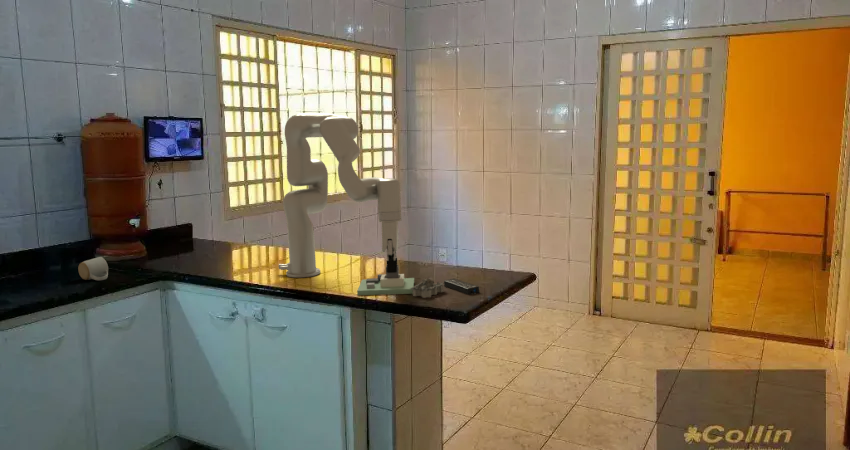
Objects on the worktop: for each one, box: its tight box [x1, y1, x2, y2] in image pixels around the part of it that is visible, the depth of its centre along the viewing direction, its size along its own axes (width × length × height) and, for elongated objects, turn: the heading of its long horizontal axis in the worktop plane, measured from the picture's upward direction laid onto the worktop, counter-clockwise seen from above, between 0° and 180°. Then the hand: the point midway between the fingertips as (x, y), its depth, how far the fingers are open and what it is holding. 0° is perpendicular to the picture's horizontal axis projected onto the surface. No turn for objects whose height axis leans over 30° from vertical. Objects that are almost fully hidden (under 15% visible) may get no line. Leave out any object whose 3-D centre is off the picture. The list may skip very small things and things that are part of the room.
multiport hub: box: [443, 278, 480, 296], centre depth 205 cm, size 4×14×2 cm, turn 31°
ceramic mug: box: [77, 256, 109, 281], centre depth 237 cm, size 11×8×8 cm
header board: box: [356, 273, 415, 296], centre depth 208 cm, size 18×15×4 cm
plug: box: [385, 252, 400, 278], centre depth 207 cm, size 4×3×9 cm
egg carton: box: [411, 277, 444, 299], centre depth 201 cm, size 11×8×4 cm
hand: (392, 270), depth 207 cm, fingers closed on plug, 3 cm apart
